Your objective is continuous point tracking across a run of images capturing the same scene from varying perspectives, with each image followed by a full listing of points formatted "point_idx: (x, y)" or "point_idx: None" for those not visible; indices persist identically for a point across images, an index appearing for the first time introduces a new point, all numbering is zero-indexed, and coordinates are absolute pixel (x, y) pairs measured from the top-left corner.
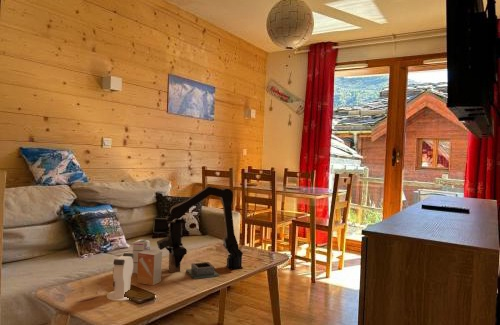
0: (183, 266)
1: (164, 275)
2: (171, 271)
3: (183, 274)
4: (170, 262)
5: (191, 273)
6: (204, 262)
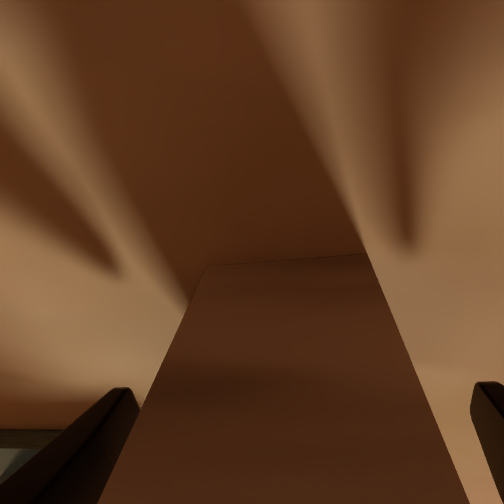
0: None
1: (50, 148)
2: (206, 282)
3: (108, 385)
4: (224, 388)
5: None
6: None
